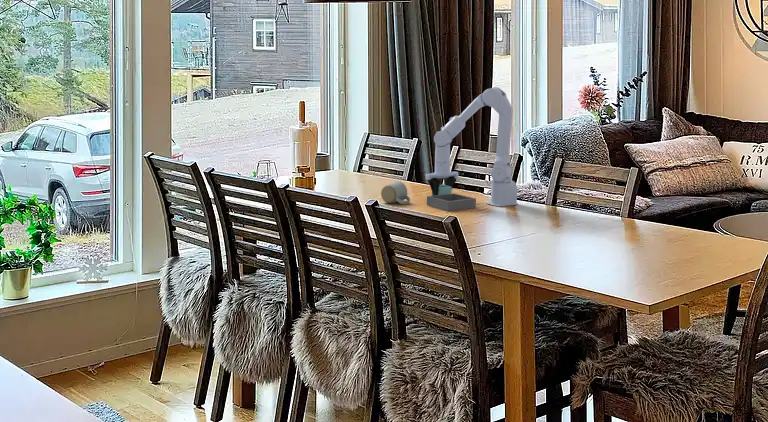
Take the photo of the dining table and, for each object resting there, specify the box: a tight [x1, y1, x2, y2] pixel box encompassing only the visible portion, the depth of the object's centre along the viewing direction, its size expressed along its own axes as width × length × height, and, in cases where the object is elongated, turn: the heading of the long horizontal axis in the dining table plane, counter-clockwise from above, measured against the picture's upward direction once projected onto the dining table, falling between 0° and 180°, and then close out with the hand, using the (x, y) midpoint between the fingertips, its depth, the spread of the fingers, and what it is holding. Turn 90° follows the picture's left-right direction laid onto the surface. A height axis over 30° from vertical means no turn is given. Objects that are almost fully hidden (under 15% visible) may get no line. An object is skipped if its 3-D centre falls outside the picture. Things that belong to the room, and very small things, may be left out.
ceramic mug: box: [380, 180, 411, 205], centre depth 358 cm, size 11×8×8 cm
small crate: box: [431, 184, 453, 196], centre depth 364 cm, size 5×5×6 cm
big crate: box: [426, 193, 477, 212], centre depth 352 cm, size 13×13×4 cm
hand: (441, 196), depth 365 cm, fingers closed on small crate, 5 cm apart
